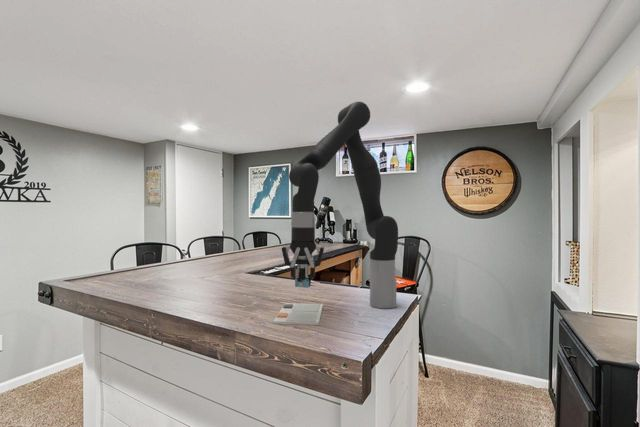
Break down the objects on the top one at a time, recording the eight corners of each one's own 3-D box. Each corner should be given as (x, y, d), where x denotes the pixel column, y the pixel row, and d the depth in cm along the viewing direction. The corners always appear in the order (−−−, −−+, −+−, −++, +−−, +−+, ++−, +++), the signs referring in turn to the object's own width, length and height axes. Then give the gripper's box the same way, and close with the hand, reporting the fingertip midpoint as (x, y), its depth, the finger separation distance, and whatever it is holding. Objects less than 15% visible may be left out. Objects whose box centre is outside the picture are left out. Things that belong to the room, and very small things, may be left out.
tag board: (322, 306, 114) (322, 302, 114) (318, 325, 94) (318, 320, 94) (285, 305, 115) (285, 301, 115) (273, 323, 95) (273, 319, 95)
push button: (317, 285, 100) (317, 255, 100) (310, 289, 95) (310, 257, 96) (298, 284, 103) (298, 254, 103) (291, 287, 98) (291, 256, 98)
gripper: (326, 226, 103) (325, 277, 102) (283, 225, 104) (283, 276, 104) (324, 226, 95) (324, 282, 95) (278, 226, 96) (278, 280, 96)
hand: (302, 278), depth 99 cm, fingers closed on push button, 5 cm apart
